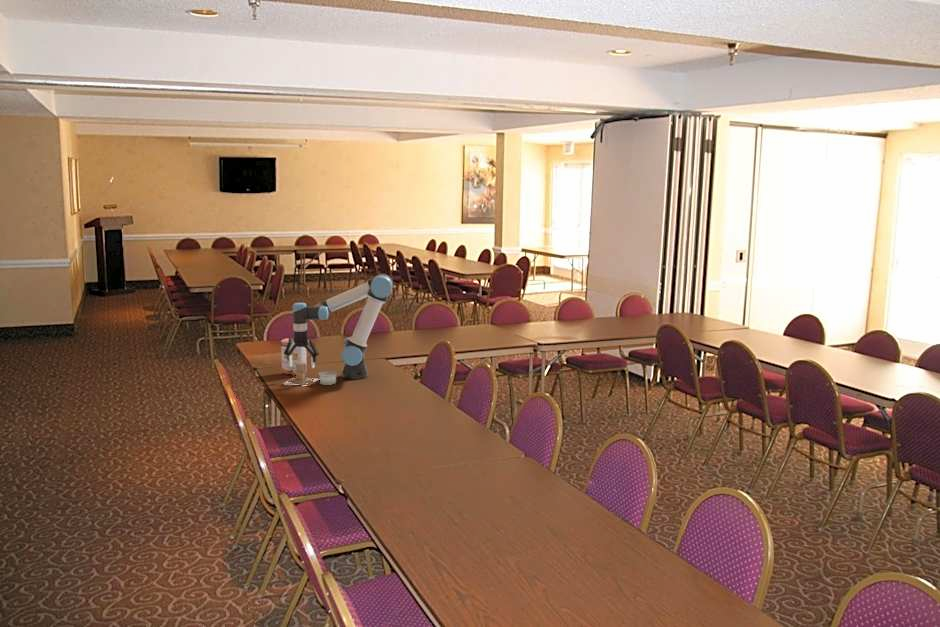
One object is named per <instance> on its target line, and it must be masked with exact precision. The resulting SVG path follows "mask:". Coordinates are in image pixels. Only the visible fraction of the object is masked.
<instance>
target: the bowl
mask: <svg viewBox="0 0 940 627" xmlns="http://www.w3.org/2000/svg"><path fill="white" fill-rule="evenodd" d="M337 375H338V373H337V371H333V370H325V371H320V372H318V376H319V379H320V381H319V384H320V385H322V384H323V385H332V384H334V385H335V384H336V383H337ZM323 385H322V386H323ZM332 386H333V385H332Z"/></svg>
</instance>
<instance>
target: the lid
mask: <svg viewBox="0 0 940 627" xmlns="http://www.w3.org/2000/svg"><path fill="white" fill-rule="evenodd" d="M307 375H308V365H307V366H306V363H299V364H297V365H296V376H295V377H296V378H294V377H293V378H291V379H292V383H295V384H305V383H310V382H311V381H312V379H313V378H312V377H311V378H312V379H311V378H310V377H308V376H307Z"/></svg>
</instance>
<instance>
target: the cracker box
mask: <svg viewBox="0 0 940 627" xmlns="http://www.w3.org/2000/svg"><path fill="white" fill-rule="evenodd" d="M289 339H290V338H283V339H281V340H280V344H281V345H280V347H281V349H280V350H281V351H280V352H281V353H280V354H281V355H280V356H281V374H282V373H286V374H294V375H296V365H297V364H299V363H306V366H307V367H308V364H307V363H308V361H307V359H308V358H307V356H308V355H307V349H306V348H305V347H298V346H297V347H296V348H295V349H294V351H293V352H292V353H291V355H292V367H289V361H288V360H287V355H285V354H284V352H285V349H286V347H287V345H288V342H289ZM294 344H295V343H294V341H293V342H292V344H291V347H290V349H289V351H290V350H291V348H292V347H293V345H294ZM289 351H288V352H289ZM286 374H285V375H286ZM294 375H293V376H294Z"/></svg>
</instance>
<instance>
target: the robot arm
mask: <svg viewBox="0 0 940 627" xmlns="http://www.w3.org/2000/svg"><path fill="white" fill-rule="evenodd" d="M393 287H394V281H393V279H392V277H391V276H390V275H388V274H387V273H378V274H377V275H375V276H374V277H372V278H370V279H368V280H366V282H365V283H363V284H360V285H358V286H356V287H353V288H352V289H349V290H347V291H344V292H342V293H339V294H337V295H334V296H332V297H330V298H328V299H326V300H323V301H319V302H317V303H316V304H315V305H314V306H307V303H305V302H294V303H293V304H292V320H293V321H292V324H293V338H292V337H291V338H288V339H289V342H288V345H287V347H286V349H285V352H284V354H285V355H287V360H288V361H289V367H292V355H291V353H292V352H293V351H294V349H295V348H296V347H297V346H298V347H305V348H306V351H307V352H308V353H309V354H310V355H311V356H310V361H311V364H310V365H311V369H314V368H316V367H315V366H316V365H315V363H316V362H317V357H318V356H320V353H319V351H318V349H317V347H316V344H315V342H314V339H313V338H311V339H309V338H308V321H323V320H328V319H329V314H330V313H332V312H334V311H336V310H339V309H342V308H344V307H346V306H348V305H349V306H350V305H352V304H354V303H356V302H359V301H360V300H363V299H365V298H367V299H366V302H365V305H364V308H363V310H362V312H361V315H360V316H359V320H358V321H357V324H356V326H355V328H354V330H353V333H352V335H351V336H349V337H346V338H345V339H344V340H343V343H344V345H343V346H344V347H343V349H342V351H341V354H340V355H341V359H342V362H343V363H344V365H343V368H342V371H341V378H343V379H345V378H347V380H361V378H363V379H366V378H368V377H369V372H368V369H367V366H366V361H365V360H366V357H365V353H366V350H367V348H368V344H367V341H368V338H369V336H370V334H371V331H372V330H373V327H374V325H375V323H376V320H377V317H378V315H379V313H380V311H381V308H382V307H383V305H384V304H385V303H387V301H388V299H389V297H390V295H391V293H392V291H393ZM293 341H294V343H295V344H294V345H293V347H292V348H291V350H290V351H289V349H290V347H291V344H292V342H293ZM288 351H289V352H288Z"/></svg>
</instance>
